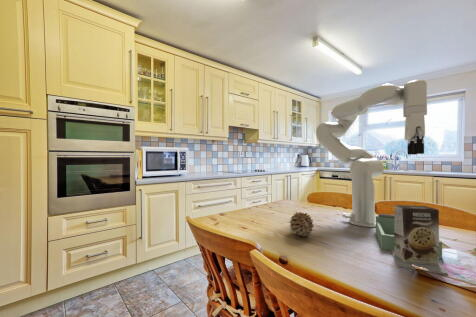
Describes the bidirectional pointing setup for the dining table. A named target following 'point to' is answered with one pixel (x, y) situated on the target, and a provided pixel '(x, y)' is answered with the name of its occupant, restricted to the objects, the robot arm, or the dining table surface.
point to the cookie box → (416, 234)
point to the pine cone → (301, 224)
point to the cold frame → (389, 232)
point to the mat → (420, 265)
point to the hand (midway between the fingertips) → (415, 154)
